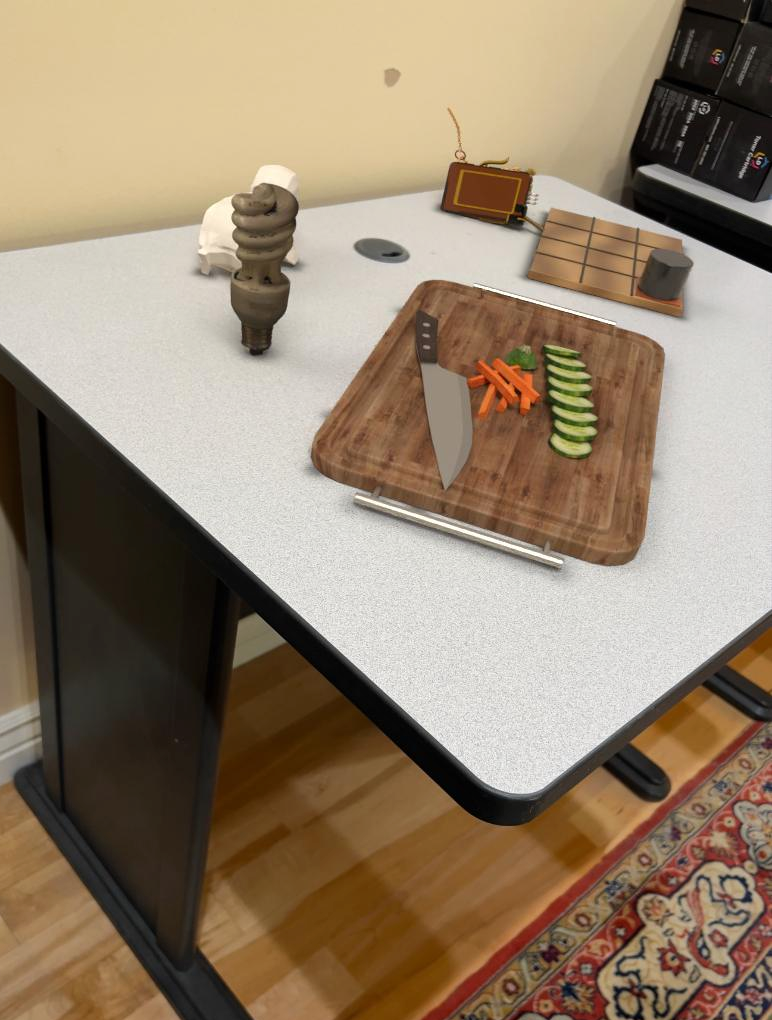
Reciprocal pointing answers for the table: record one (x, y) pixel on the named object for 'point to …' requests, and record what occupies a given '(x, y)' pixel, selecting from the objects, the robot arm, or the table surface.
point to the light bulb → (261, 261)
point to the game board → (600, 258)
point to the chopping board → (504, 423)
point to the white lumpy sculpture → (219, 226)
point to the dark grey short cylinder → (665, 274)
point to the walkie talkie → (488, 191)
